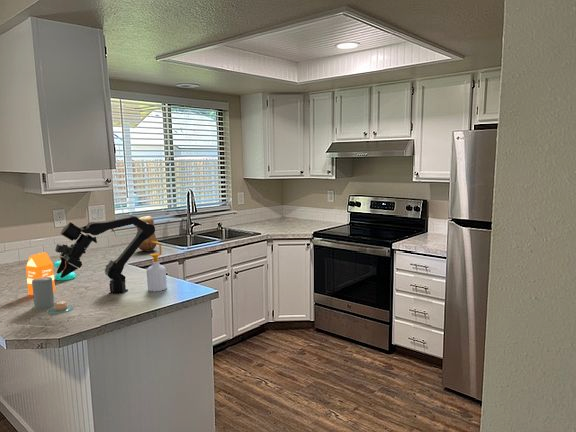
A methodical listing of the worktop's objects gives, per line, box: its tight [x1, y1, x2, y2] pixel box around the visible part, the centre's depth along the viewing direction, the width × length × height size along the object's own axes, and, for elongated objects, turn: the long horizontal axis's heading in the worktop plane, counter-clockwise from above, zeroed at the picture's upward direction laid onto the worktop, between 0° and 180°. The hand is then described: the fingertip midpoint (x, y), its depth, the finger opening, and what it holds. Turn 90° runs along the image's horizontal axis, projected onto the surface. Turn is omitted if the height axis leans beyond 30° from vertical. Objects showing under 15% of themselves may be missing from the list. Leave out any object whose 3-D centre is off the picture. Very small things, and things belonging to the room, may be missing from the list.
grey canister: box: [32, 277, 56, 311], centre depth 191 cm, size 8×8×12 cm
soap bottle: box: [146, 240, 168, 293], centre depth 214 cm, size 9×9×25 cm
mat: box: [31, 306, 55, 312], centre depth 192 cm, size 10×10×1 cm
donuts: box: [53, 259, 76, 282], centre depth 238 cm, size 10×10×10 cm
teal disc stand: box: [47, 300, 75, 315], centre depth 187 cm, size 10×10×4 cm
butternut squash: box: [136, 215, 158, 252], centre depth 303 cm, size 14×13×25 cm
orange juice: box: [25, 251, 56, 296], centre depth 212 cm, size 8×9×20 cm
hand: (59, 275), depth 195 cm, fingers open, 9 cm apart
